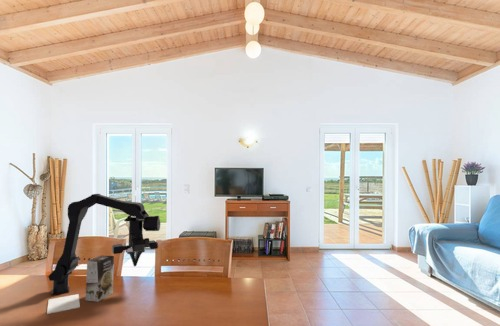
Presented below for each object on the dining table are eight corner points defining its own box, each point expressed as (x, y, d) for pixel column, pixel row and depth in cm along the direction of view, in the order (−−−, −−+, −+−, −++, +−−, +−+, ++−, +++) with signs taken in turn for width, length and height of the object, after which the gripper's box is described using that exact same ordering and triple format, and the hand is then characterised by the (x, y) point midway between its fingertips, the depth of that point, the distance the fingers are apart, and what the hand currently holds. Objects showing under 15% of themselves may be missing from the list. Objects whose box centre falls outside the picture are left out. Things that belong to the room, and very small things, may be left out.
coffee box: (98, 302, 117) (99, 261, 118) (84, 300, 118) (86, 260, 119) (113, 293, 126) (114, 255, 126) (100, 291, 127) (101, 254, 128)
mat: (48, 300, 118) (48, 299, 118) (78, 294, 124) (78, 294, 124) (46, 314, 106) (46, 313, 106) (79, 307, 112) (79, 306, 112)
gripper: (115, 236, 119) (114, 275, 118) (161, 232, 129) (160, 267, 128) (112, 231, 128) (111, 267, 127) (155, 228, 138) (154, 261, 137)
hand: (134, 266), depth 130 cm, fingers closed
